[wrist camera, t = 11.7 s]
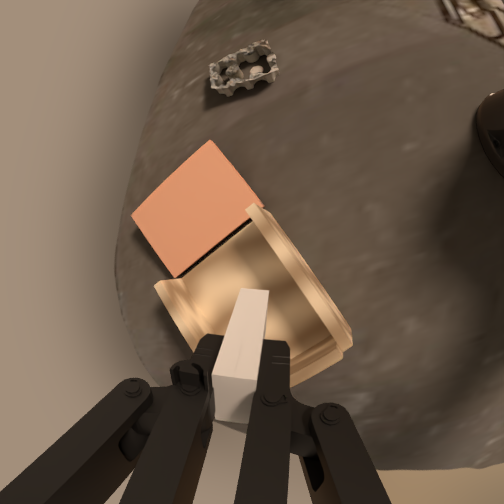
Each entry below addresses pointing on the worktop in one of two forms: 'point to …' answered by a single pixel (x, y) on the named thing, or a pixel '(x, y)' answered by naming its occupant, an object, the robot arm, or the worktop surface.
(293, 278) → the wooden open box
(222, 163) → the panel
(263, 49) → the egg carton
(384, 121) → the worktop surface
